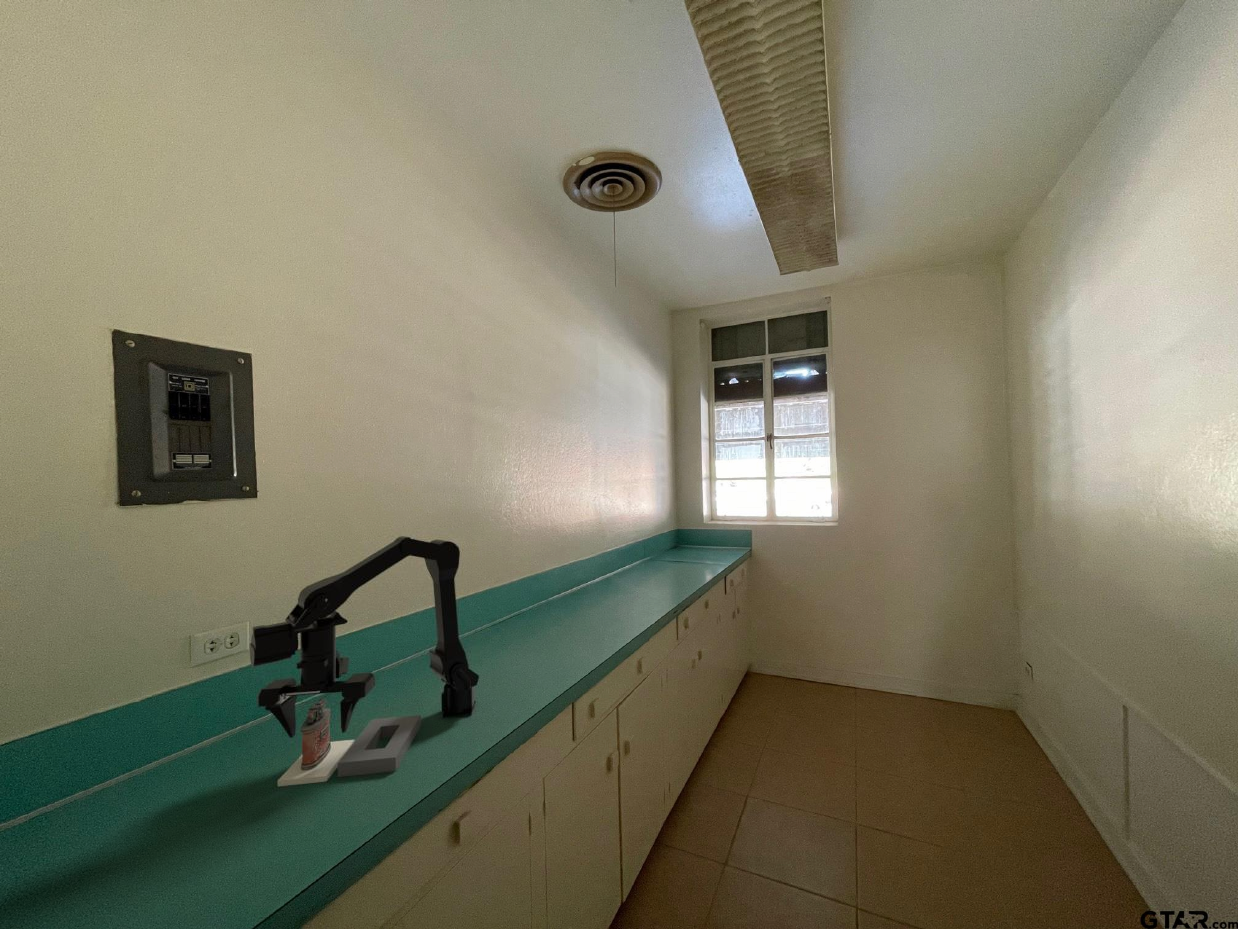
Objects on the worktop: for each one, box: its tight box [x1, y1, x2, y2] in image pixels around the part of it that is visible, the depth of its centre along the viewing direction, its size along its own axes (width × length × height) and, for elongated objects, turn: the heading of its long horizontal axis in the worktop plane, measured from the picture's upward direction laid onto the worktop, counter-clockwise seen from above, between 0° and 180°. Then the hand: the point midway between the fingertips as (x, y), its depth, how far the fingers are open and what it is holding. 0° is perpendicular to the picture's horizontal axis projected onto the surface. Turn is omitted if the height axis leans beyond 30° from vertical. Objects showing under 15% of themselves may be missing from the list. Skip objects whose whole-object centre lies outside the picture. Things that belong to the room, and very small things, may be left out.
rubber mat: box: [277, 739, 356, 787], centre depth 90 cm, size 8×12×1 cm, turn 8°
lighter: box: [300, 698, 332, 771], centre depth 90 cm, size 8×3×10 cm, turn 10°
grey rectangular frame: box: [337, 714, 422, 778], centre depth 94 cm, size 10×16×2 cm, turn 8°
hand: (318, 734), depth 90 cm, fingers open, 9 cm apart
